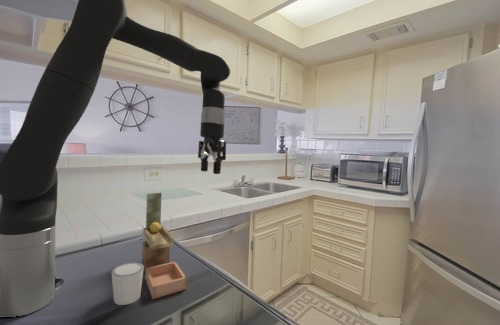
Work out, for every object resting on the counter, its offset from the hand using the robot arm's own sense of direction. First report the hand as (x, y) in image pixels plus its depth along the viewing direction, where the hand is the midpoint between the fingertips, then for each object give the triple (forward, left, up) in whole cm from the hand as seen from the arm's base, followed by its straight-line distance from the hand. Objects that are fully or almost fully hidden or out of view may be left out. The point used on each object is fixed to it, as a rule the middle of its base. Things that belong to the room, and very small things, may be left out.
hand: (210, 172), depth 76 cm
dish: (-15, -8, -29) cm, 34 cm away
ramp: (-15, +4, -20) cm, 25 cm away
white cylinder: (-24, -9, -29) cm, 39 cm away
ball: (-15, +6, -18) cm, 24 cm away
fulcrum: (-15, +4, -29) cm, 33 cm away
